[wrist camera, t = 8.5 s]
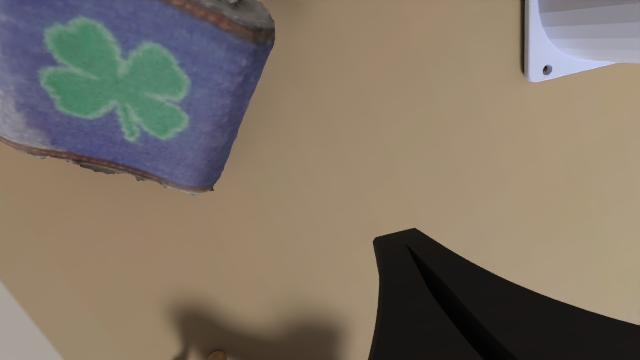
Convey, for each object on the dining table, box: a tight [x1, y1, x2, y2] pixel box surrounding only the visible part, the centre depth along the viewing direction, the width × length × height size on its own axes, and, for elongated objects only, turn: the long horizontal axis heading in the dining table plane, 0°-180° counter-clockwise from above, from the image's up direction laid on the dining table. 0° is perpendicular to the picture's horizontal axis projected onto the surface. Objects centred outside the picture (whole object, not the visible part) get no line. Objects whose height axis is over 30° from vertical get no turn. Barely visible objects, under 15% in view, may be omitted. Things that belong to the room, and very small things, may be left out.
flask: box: [0, 0, 275, 195], centre depth 13 cm, size 9×3×11 cm
